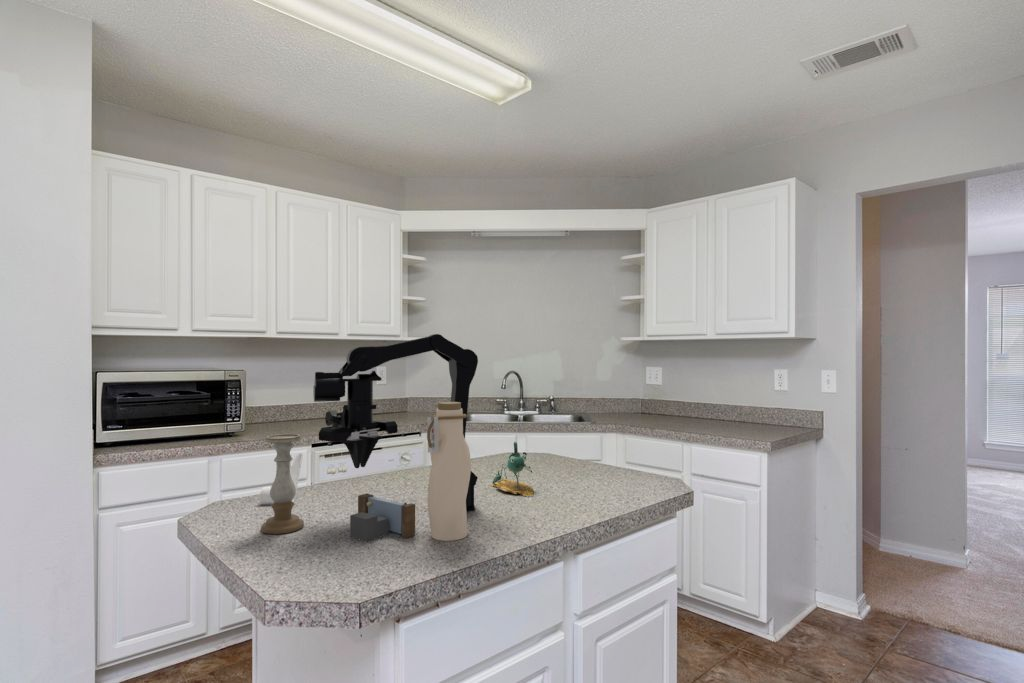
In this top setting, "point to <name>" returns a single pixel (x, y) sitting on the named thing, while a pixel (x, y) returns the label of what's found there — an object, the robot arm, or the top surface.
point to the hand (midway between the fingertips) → (359, 467)
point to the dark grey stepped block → (367, 526)
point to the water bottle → (448, 472)
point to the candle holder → (282, 488)
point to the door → (387, 512)
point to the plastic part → (294, 472)
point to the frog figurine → (515, 466)
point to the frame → (407, 514)
